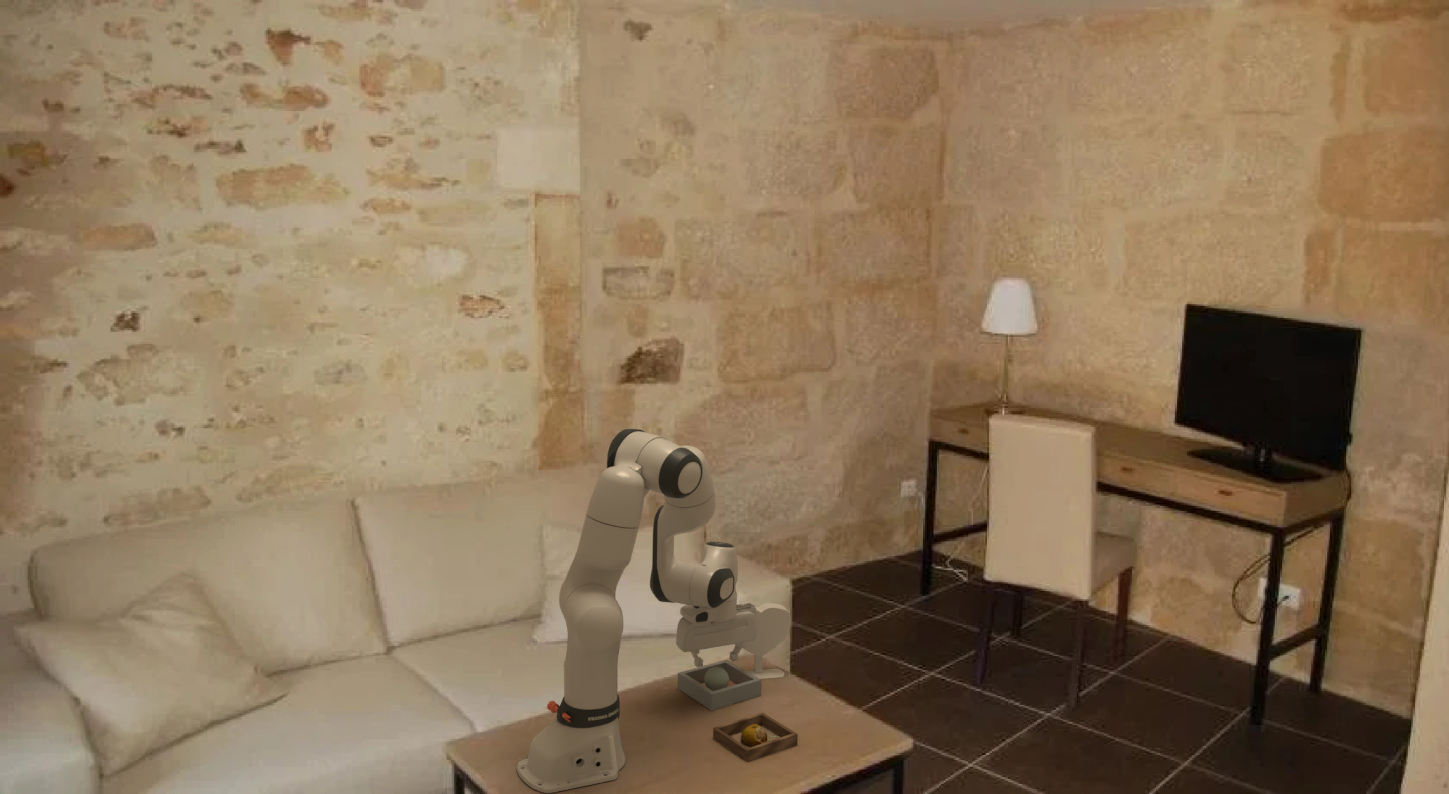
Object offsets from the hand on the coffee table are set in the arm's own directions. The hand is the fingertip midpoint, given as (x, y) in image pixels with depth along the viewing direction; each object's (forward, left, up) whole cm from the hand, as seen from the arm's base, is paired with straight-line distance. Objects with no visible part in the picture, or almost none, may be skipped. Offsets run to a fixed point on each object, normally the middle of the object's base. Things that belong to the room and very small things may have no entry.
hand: (716, 662), depth 269 cm
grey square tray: (+1, -1, -7) cm, 7 cm away
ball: (0, 0, -4) cm, 4 cm away
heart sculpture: (+15, +2, -8) cm, 17 cm away
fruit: (-7, -27, -8) cm, 29 cm away
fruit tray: (-7, -26, -7) cm, 28 cm away
